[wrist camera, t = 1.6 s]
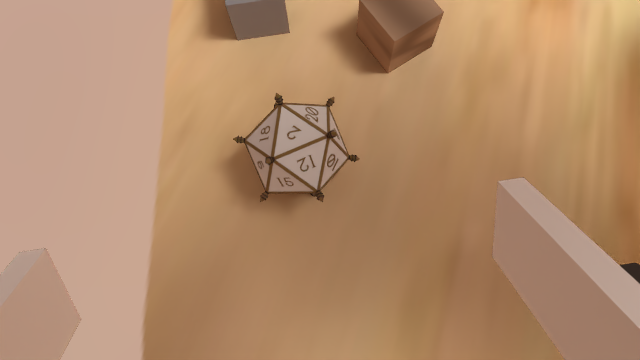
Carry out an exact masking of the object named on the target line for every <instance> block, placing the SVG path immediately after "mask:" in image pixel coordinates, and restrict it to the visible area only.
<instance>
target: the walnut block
mask: <svg viewBox="0 0 640 360" xmlns="http://www.w3.org/2000/svg"><path fill="white" fill-rule="evenodd" d="M443 13H444V11H443V10H442V9H441V8H440V7H439V6H438V5H437V4H436V3H435V1H434V0H359V11H358V24H357V36H358V37H359V38H360V39H361V41H362V42H363V43H364V44H365V46H366V47H367V48H368V49H369V51H370V52H371V53H372V54H373V56H374V57H375V58H376V59H377V60H378V62H379V63H380V64H381V65H382V67H383V68H384V69H385V70H386V72H387V73H389V72H391V71H392V70H394V69H396V68H397V67H399V66H401V65H402V64H404V63H405V62H407V61H409V60H410V59H412V58H414V57H415V56H417V55H418V54H420V53H422V52H423V51H425V50H427V49H428V48H430V47H431V46H432V44H433V41H434V38H435V36H436V33H437V30H438V27H439V24H440V21H441V19H442V16H443Z"/></svg>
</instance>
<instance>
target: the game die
mask: <svg viewBox="0 0 640 360" xmlns="http://www.w3.org/2000/svg"><path fill="white" fill-rule="evenodd" d="M275 100H276V103H275V105H274V109H273V110H272V111H271V112H270V113H269V114H268V115H267V116H266V117H265V118H264V119H263V121H262V122H261V123H260V124H259V125H258V126H257V127H256V128H255V129H254V130H253V131H252V132H251V133H250V134H249V135H248V136H247V137H246V138H242V137H239V136H238V137H236V138H234V139H233V140H235V141H236V142H237V143H245V145H246V147H247V149H248V152H249V154H250V156H251V159H252V161H253V163H254V166H255V168H256V170H257V173H258V175H259V177H260V180H261V182H262V184H263V187H264V189H265V192H264V193H262V195H261V199H260V202H261V201H264V200H266V198H267V197H268V194H269V193H311V195H312V196H316V197H317V199H318V200H320V201H322V202H323V198H324V195H323V193H321V192H320V191H321V190H322V188H323V187H324V186H325V185H326V184H327V183H328V182H329V181H330V179H331V178H332V177H333V176H334V175H335V174H336V173H337V172H338V170H339V169H340V168H341V167H342V166H343V165H344V164H345V163H346V161H347V160H351V161H354V162H355V161H357V160H359V158H358V157H357V156H356V155H355V156H354V155H351V156H350V155H349V154H348V152H347V149H346V147H345V144H344V142H343V139H342V137H341V135H340V132H339V130H338V127H337V125H336V123H335V120H334V118H333V115H332V113H331V110H330V108H329V107H330V106H332V104H333V103H334V97H333V98H330V99H328V101H327V104H326V105H315V104H297V103H283V102H282V100H283V99H282V96H280V95H279V94H278V93H276V97H275ZM277 103H278V104H277Z"/></svg>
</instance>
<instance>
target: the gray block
mask: <svg viewBox="0 0 640 360" xmlns="http://www.w3.org/2000/svg"><path fill="white" fill-rule="evenodd" d="M225 5H226V8H227V11H228V14H229V17H230V20H231V23H232V26H233V29H234V31H235V34H236V37H237V40H244V39H251V38H257V37H264V36H271V35H278V34H285V33H290V31H289V25H288V18H287V11H286V5H285V0H225Z"/></svg>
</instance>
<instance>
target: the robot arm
mask: <svg viewBox="0 0 640 360" xmlns="http://www.w3.org/2000/svg"><path fill="white" fill-rule="evenodd" d="M492 257H493V259H494V260H495V261H496V263H497V264H498V266H499V267H500V269H501V270H502V271H503V273H504V274H505V276H506V277H507V278H508V280H509V281H510V283H511V284H512V286H513V287H514V288H515V290H516V291H517V293H518V294H519V295H520V297H521V298H522V300H523V301H524V303H525V304H526V305H527V307H528V308H529V310H530V311H531V312H532V314H533V315H534V317H535V318H536V320H537V321H538V322H539V324H540V325H541V327H542V328H543V330H544V331H545V332H546V334H547V335H548V337H549V338H550V339H551V341H552V342H553V344H554V345H555V347H556V348H557V349H558V351H559V352H560V354H561V355H562V356H563V358H564V359H565V360H640V265H639V264H637V263H630V264H624V265H619V264H617V263H616V262H615V261H614V260H613V259H612V258H611V257H610V256H609V255H608V254H607V253H605V252H604V251H603V250H602V249H601V248H600V247H599V246H598V245H597V244H596V243H595V242H593V241H592V240H591V239H590V238H589V237H588V236H587V235H586V234H585V233H584V232H583V231H581V230H580V229H579V228H578V227H577V226H576V225H575V224H574V223H573V222H572V221H571V220H570V219H568V218H567V217H566V216H565V215H564V214H563V213H562V212H561V211H560V210H559V209H558V208H556V207H555V206H554V205H553V204H552V203H551V202H550V201H549V200H548V199H547V198H546V197H544V196H543V195H542V194H541V193H540V192H539V191H538V190H537V189H536V188H535V187H534V186H532V185H531V184H530V183H529V182H528V181H527V180H526V179H525V178H524V177H522V178H516V179H509V180H502V181H498V185H497V199H496V213H495V226H494V240H493V254H492ZM80 321H81V318H80V316H79V314H78V312H77V310H76V308H75V306H74V304H73V302H72V300H71V298H70V296H69V294H68V292H67V290H66V288H65V285H64V283H63V281H62V279H61V277H60V275H59V274H58V272H57V269H56V267H55V265H54V263H53V261H52V259H51V257H50V255H49V253H48V251H47V249H46V248H44V249H37V250H30V251H24V252H19V253H18V254H17V255H16V256H15V258H14V259H13V260H12V261H11V262H10V263H9V265H8V266H7V267H6V268H5V269H4V271H3V272H2V273H1V274H0V360H60V359H61V357H62V355H63V353H64V351H65V349H66V347H67V346H68V344H69V342H70V340H71V338H72V336H73V334H74V332H75V330H76V328H77V327H78V325H79V323H80Z"/></svg>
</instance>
